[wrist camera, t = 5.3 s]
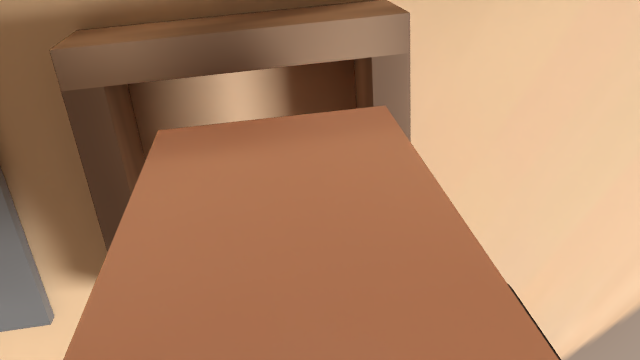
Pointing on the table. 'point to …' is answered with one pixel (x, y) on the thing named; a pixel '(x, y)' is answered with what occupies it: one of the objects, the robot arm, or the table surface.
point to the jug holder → (215, 58)
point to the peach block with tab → (298, 253)
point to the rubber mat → (18, 273)
